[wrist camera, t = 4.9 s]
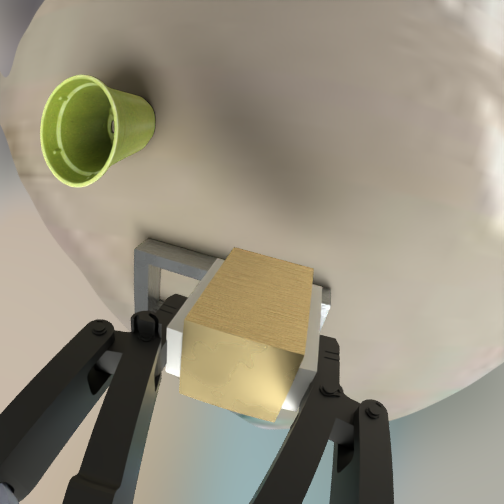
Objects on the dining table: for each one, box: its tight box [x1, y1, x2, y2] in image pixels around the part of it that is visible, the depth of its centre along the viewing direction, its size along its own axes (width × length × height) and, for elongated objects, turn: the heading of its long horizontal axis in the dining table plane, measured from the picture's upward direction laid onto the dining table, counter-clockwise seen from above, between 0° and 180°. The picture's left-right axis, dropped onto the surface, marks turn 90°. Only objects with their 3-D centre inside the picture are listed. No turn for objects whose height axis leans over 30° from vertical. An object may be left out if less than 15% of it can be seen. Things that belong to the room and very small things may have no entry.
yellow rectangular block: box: [179, 247, 314, 422], centre depth 15 cm, size 4×4×7 cm
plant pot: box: [40, 75, 155, 187], centre depth 24 cm, size 9×9×9 cm
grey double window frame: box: [134, 238, 331, 331], centre depth 32 cm, size 9×20×3 cm, turn 78°
